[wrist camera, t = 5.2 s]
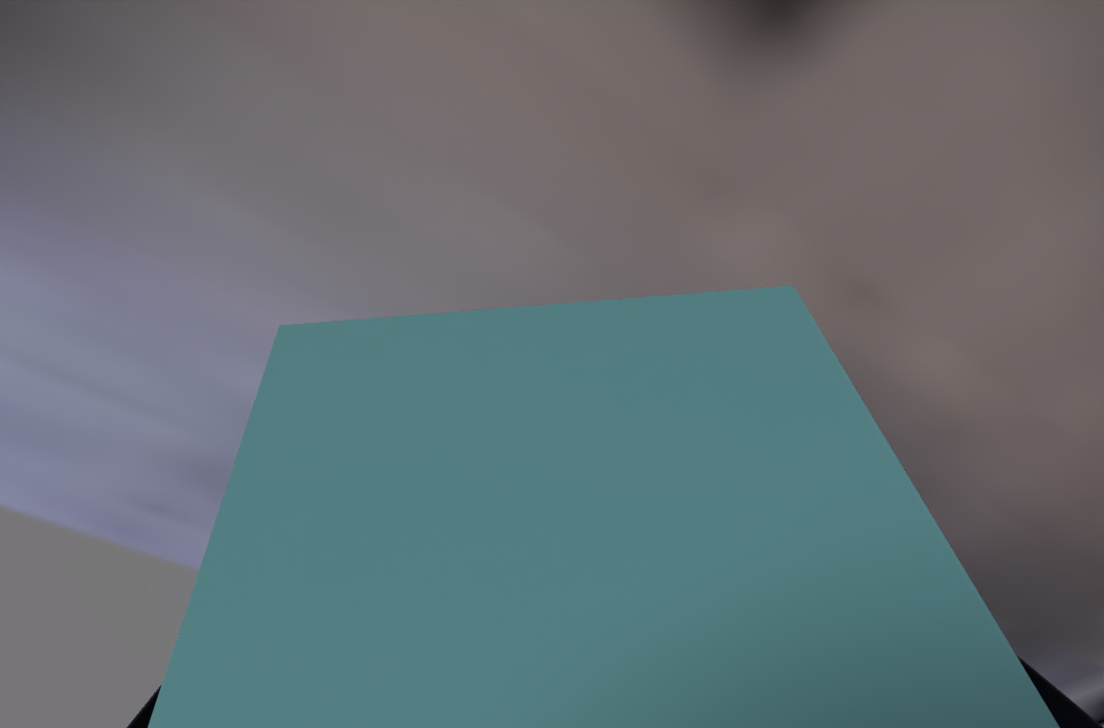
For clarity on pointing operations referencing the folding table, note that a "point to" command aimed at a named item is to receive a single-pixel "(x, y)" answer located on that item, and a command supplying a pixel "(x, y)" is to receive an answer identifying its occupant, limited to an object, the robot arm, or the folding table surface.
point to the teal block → (580, 535)
